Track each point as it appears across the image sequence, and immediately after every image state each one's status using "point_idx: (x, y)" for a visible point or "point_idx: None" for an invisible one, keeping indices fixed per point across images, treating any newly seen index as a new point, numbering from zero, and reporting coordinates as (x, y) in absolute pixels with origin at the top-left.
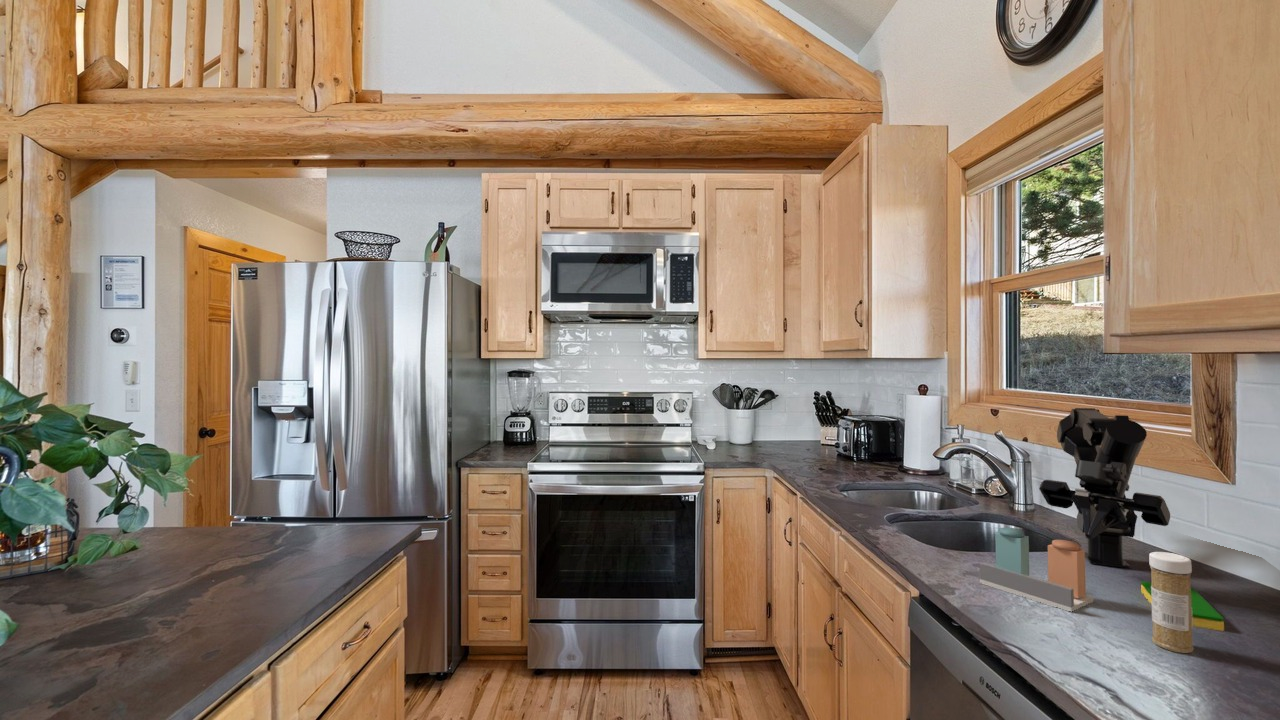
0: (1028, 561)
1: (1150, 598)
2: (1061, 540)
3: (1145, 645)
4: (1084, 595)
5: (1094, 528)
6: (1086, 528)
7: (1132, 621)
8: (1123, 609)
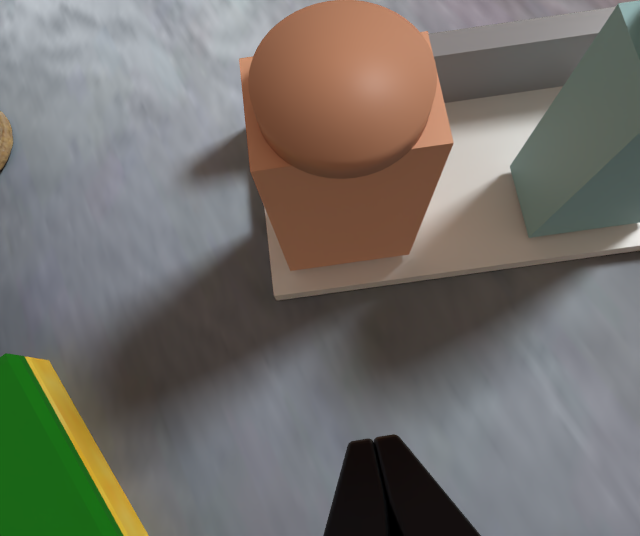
0: (563, 193)
1: (131, 531)
2: (401, 109)
3: (20, 89)
4: (300, 280)
5: (335, 522)
6: (416, 491)
7: (110, 239)
8: (176, 332)
